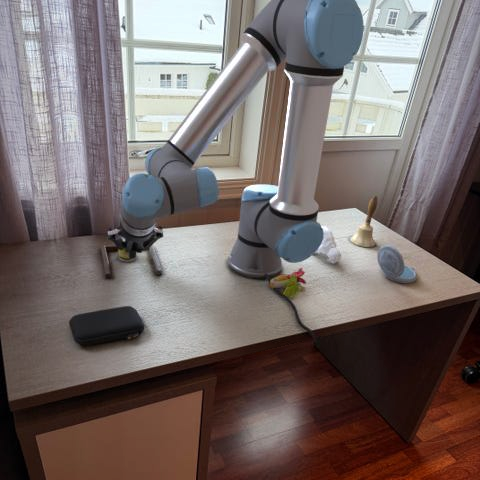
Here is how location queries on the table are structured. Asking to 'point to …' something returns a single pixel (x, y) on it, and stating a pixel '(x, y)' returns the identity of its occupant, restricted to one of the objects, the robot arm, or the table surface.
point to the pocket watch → (394, 265)
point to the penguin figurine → (329, 246)
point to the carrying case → (106, 325)
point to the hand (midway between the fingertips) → (131, 253)
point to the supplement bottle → (124, 254)
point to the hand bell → (366, 228)
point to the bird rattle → (289, 283)
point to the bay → (114, 248)
